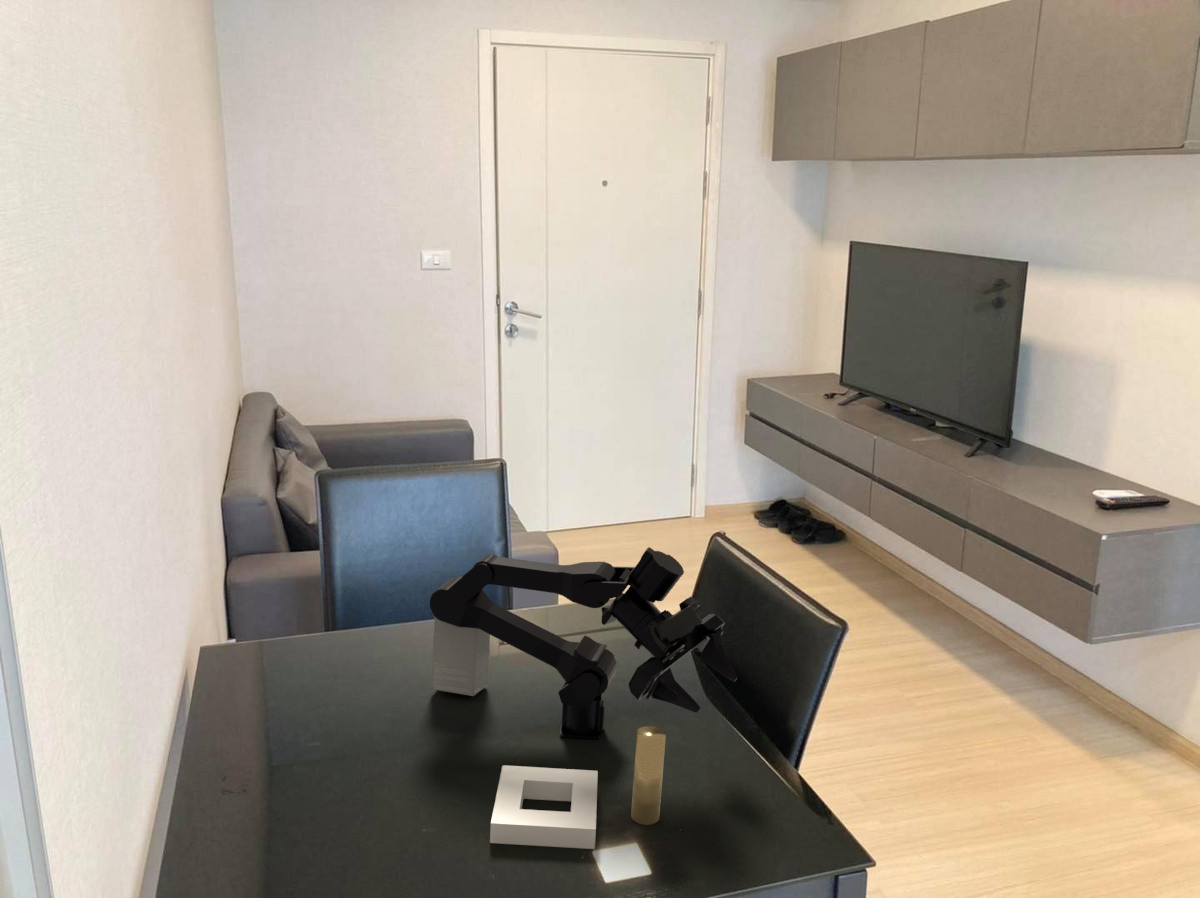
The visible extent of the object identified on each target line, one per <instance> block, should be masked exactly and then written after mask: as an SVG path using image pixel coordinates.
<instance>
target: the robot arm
mask: <svg viewBox="0 0 1200 898" xmlns="http://www.w3.org/2000/svg"><path fill="white" fill-rule="evenodd" d="M684 573H685V571H684V568H683V566H682V565H681V563H680V562H679V561H678V560H677V559H676V558H674V557H673V556H672V555H670V554H667V553H665V552H663V551H660V550H654V549H653V548H652V547H649V546H648V547H646V549H645V551H644V552H643V553H642V556H640V560H639V561H638V562H637V564H636V565H635V566H613V565H612V564H610V563H609V562H606V561H583V562H578V563H572V564H565V565H564V564H556V563H555V564H553V563H550V562H549V563H548V562H547V563H546V562H540V561H534V560H525V559H519V558H518V559H517V558H511V557H510V558H509V557H505V556H504V557H503V556H498V555H496V554H491V553H490V554H486V555H484V556H483V557H482V558H481V559H479V560H478V561H477V562H476V563H475V564H474V565H473V567H472V568H471V569H469V570H468V571H467V572H466V573H465V574H464V575H463V576H462V575H456V576H454V577H451V578H449V579H448V580H447V581H446V582H445V583H443V585H441V586H440V587H439V588H438V589H436V590H435V591H434V592H433V593H432V595H431V596H430V598H429V608H430V610H431V614H432V616H433V617H435V618H436V619H438V620H439V621H441V622H444V623H447V624H450V625H454V626H457V627H465V628H477V629H480V630H482V631H484V632H486V633H488V634H490V636H492V637H494V638H496V639H498V640H499V641H502V642H504V643H506V644H507V645H509V646H512V647H514V648H515V649H517V650H519V651H521V652H522V653H523V652H524V653H525V654H527V655H528V656H531V657H532V658H535V659H536V660H538V661H541V662H542V663H545V664H546V665H548V666H551V667H552V668H554V669H555V670H556V671H557V672H558V673H559V675H560V676H561V678H562V679H563V680H564V682H563V684H562V686H561V687H560V689H559V690H558V696H559V699H560V702H561V704H562V705H561V707H562V708H561V717H560V718H561V721H560V729H559V737H561V738H573V739H575V738H576V739H591V740H600V738H601V731H603V730H604V721H605V720H604V718H605V706H606V705H605V704H606V703H605V702H606V701H605V700H604V699H602V694H604V693H605V692H606V690H607V689H608V687H609V685H610V683H611V682H612V680H613V677H614V676H615V675H616V673H617V668H618V666H617V664H618V663H617V660H616V658H615V655H614V654H613V652H612V651H611V650H610V649H607V646H608V645H607V644H604V643H599V642H597V641H595V640H594V639H593V638H591V637H590V636H587V635H583V636H582V638H581V639H580V641H569V640H566V639H565V638H563V637H561V636H559V635H557V634H555V633H553V632H552V631H549V630H547V629H545V628H543V627H542V626H539V625H537V624H535V623H533V622H532V621H529V620H527V619H526V618H523V617H521V616H519V615H518V614H515V613H514V612H512V611H509V610H508V609H506V608H503V607H501V606H500V605H498V604H495V603H494V602H493V601H492V600H491V599H490V598H489V596H488V595H487V593H486V592H485V591H484V590H483V589H484V588H485V587H486V586H487V585H493V586H495V585H496V586H502V587H509V588H517V589H522V590H529V591H537V592H544V593H551V594H556V595H560V596H562V597H564V598H565V599H567V600H568V601H570V602H572V603H574V604H578V605H581V606H584V607H588V608H591V609H599V608H601V610H600V611H601V624H602V625H608V624H611V623H614V622H616V621H617V622H618V623H619V624H620V625H621V626H622V627H623V628H624V629H625V630H626V631H627V632H628V633H629V634H630V635H631V636H632V638H634V639H635V640H636V641H635V643H634V647H636V649H637V650H640V649H642V648H644V650H646V651H647V653H648V654H649V655H650V656H651V657H650V658H648V659H647V660H646V661H644V662H643V663H642V664H640V665H639V666H637V667H636V670H635V671H634V673H633V675H632V677H631V679H630V681H629V683H628V688H629V692H630V693H631V694H632V696H634V697H635V698H636V700H637V701H641V699H643V698H644V697H645V699H646V700H648V701H649V700H651V699H655V700H659V701H662V702H664V703H669V704H671V705H674V706H677V707H679V708H681V709H685V710H688V711H691V712H693V713H696V714H698V713H699V712H700V710H701V706H699V704H698V703H697V702H696V700H695V699H694V698H693V697H692V695H690V694H689V693H688V692H687V690H685V689H684V688H683V687H682V686H681V685H680V684H679V683H678V681H676V679H675V676H674V675H673V672H672V667H673V666H674V665H675V664H677V663H678V662H679V661H681V660H682V659H683V658H684V657H686V656H687V655H688V654H690V653H691V652H692V651H693V652H697V653H700V655H699V656H698V658H699V659H700V660H701V661H703V662H705V663H706V664H707V665H708V666H710V667H711V668H712V669H714V670H715V671H716V672H718V673H719V674H720V675H722V676H723V677H724V678H726V679H727V680H729V681H731V682H733V683H735V682H736V681H737V679H738V675H737V674H736V671H735V670H734V668H733V666H732V664H731V662H730V660H729V658H728V656H727V654H726V651H725V649H724V647H723V643H722V635H723V633H724V629H723V627H724V625H725V624H726V622H725V621H724V620H723V619H722V618H721V617H720V616H719V615H717V614H714V613H709V614H708V615H706V616H705V617H703V618H702V619H701V615H703V614H704V608H703V607H702V605H701V604H700V602H698V601H697V600H696V599H695V598H694V597H693V596H689V597H687V598H686V599H684V600H683V601H681V602H680V603H679V605H678V606H679V609H680V610H679V611H677V612H676V613H674V614H672V613H671V612H670V611H669V610H666V609H665V610H663V611H660V610H659V609H658V608H657V607H656V606H655V605H654V603H655V602H662V601H664V599H665V598H667V596H668V594H669V593H670V592H671V591H672V590H673V588H674V587H675V586H676V585H677V583H678V581H679V580H681V577H683V575H684ZM628 586H629V587H628ZM611 599H613V600H612V602H611V603H610V605H606V604H608V602H609V601H610V600H611ZM692 629H693V630H692ZM688 635H689V636H688ZM687 636H688V638H687Z"/></svg>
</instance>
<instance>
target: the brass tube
mask: <svg viewBox="0 0 1200 898" xmlns="http://www.w3.org/2000/svg"><path fill="white" fill-rule="evenodd" d="M666 738H667V734H666V731H665V730H664V729H662V728H661V727H658V726H654V725H646V726H642V727H639V728H638V729H637V731H636V741H635V742H636V744H635V755H634V756H635V757H634V758H635V759H634V769H633V782H632V783H633V784H632V798H631V811H630V818H631V819H632V820H633V821H634V822H635V823H637V824H639V825H643V826H651V825H654V824H656V823H657V822H659V820H660V815H661V802H662V801H661V799H662V787H663V775H664V763H665V753H666V752H665V750H666Z"/></svg>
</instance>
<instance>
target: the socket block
mask: <svg viewBox="0 0 1200 898" xmlns="http://www.w3.org/2000/svg"><path fill="white" fill-rule="evenodd" d="M598 773H599V772H598V770H592V769H591V770H589V769H588V770H587V769H575V768H572V769H571V768H570V769H569V768H568V769H567V768H558V767H557V768H555V767H554V768H553V767H538V766H521V765H520V766H519V765H505V764H504V765H502V766H501V772H500V776H499V780H498V785H497V791H496V795H495V801H494V806H493V810H492V815H491V820H490V829H489V830H490V832H489V833H490V834H489V843H490V844H503V845H515V846H516V845H518V846H519V845H520V846H535V847H553V848H555V847H556V848H569V849H584V850H585V849H587V850H595V848H596V834H597V831H596V830H597V811H598V810H597V809H598V808H597V805H598V804H597V803H598V802H597V801H598V777H599V775H598ZM525 799H526V800H537V801H538V800H540V801H541V800H542V801H557V802H571V805H570V811H558V810H557V811H556V810H545V809H544V810H541V809H540V810H538V809H527V808H526V809H524V808H523V803H524V800H525Z"/></svg>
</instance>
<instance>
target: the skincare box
mask: <svg viewBox="0 0 1200 898" xmlns="http://www.w3.org/2000/svg"><path fill="white" fill-rule="evenodd" d="M433 617H434V616H433ZM433 620H434V621H433V642H432V644H433V645H432V647H433V648H432V662H431V663H432V664H431V665H432V667H431V687H430V689H431V690H434V691H440V692H448V693H452V694H459V695H464V696H471V697H475V696H476V695H477V694H478V693H479V692H481V691H483V690H484V689H485V688H487V686H488V683H489V679H488V678H489V661H490V660H489V659H490V658H489V657H490V639H491V638H490V636H491V635H490V634H488V633H486V632H484V631H482V630H480V629H477V628H465V627H457V626H454V625H450V624H447V623H444V622H441V621H439V620H438V619H436V618H435V617H434V619H433Z"/></svg>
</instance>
